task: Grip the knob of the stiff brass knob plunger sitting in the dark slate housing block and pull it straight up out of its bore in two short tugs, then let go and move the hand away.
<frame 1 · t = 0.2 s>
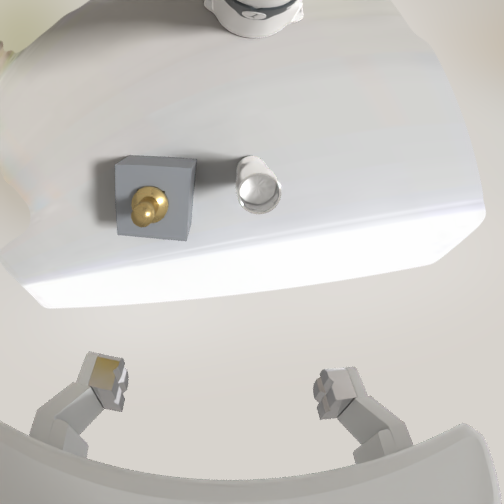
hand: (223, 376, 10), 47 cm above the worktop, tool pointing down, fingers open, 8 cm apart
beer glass: (251, 169, 53), on the worktop
slate housing: (160, 189, 53), on the worktop
brass knob plunger: (151, 202, 47), point 7 cm above the worktop, slide at 0.0 cm
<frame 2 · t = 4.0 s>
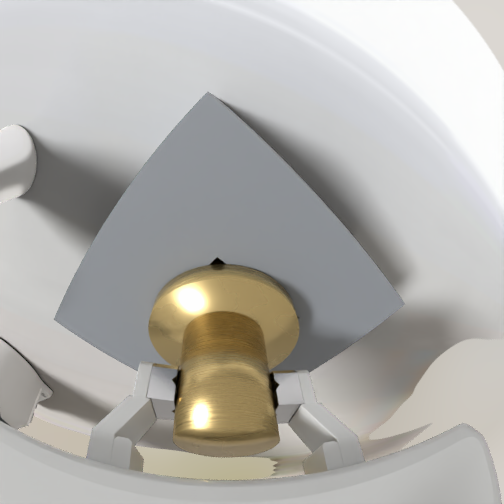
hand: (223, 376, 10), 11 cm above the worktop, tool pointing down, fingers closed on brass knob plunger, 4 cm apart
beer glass: (14, 160, 14), on the worktop
slate housing: (224, 241, 20), on the worktop
brass knob plunger: (223, 312, 13), point 7 cm above the worktop, slide at 0.0 cm, touching gripper
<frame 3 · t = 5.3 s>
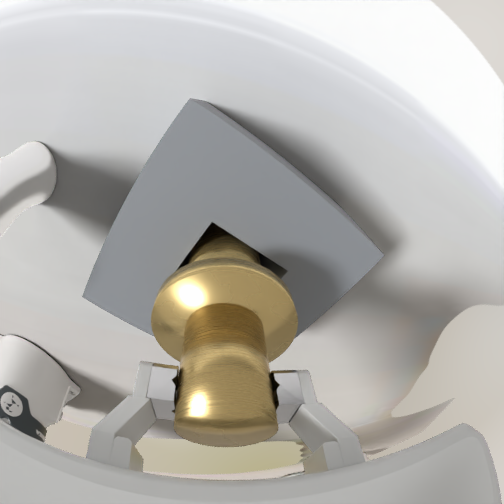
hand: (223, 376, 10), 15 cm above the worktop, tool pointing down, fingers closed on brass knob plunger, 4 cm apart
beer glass: (35, 171, 18), on the worktop
salad plate: (296, 474, 78), on the worktop
slate housing: (225, 221, 22), on the worktop
lightbulb: (361, 452, 69), on the worktop
brass knob plunger: (224, 306, 14), point 10 cm above the worktop, slide at 2.9 cm, touching gripper
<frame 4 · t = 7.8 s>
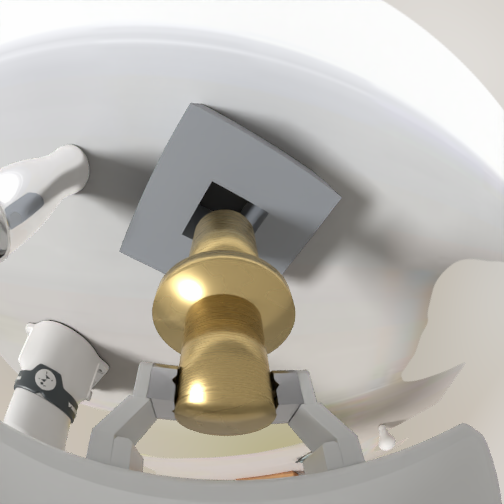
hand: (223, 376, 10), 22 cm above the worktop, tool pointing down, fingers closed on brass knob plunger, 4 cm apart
wooden box: (267, 477, 102), on the worktop
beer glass: (69, 168, 25), on the worktop
salad plate: (319, 452, 84), on the worktop
slate housing: (225, 192, 29), on the worktop
lightbulb: (380, 424, 74), on the worktop
brass knob plunger: (223, 298, 14), point 17 cm above the worktop, slide at 9.9 cm, touching gripper
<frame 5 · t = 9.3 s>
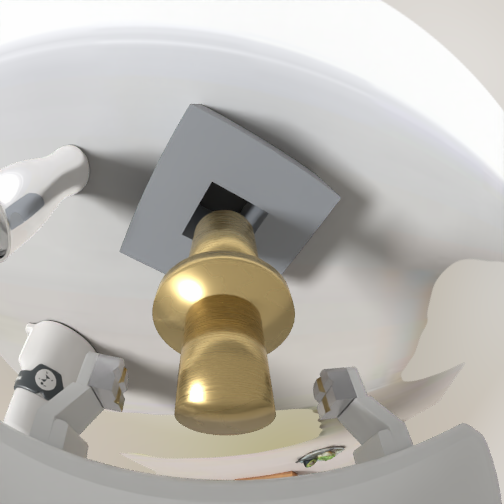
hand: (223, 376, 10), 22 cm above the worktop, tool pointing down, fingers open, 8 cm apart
wooden box: (266, 477, 103), on the worktop
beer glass: (70, 169, 25), on the worktop
salad plate: (319, 452, 84), on the worktop
slate housing: (225, 192, 29), on the worktop
brass knob plunger: (223, 298, 14), point 17 cm above the worktop, slide at 9.9 cm
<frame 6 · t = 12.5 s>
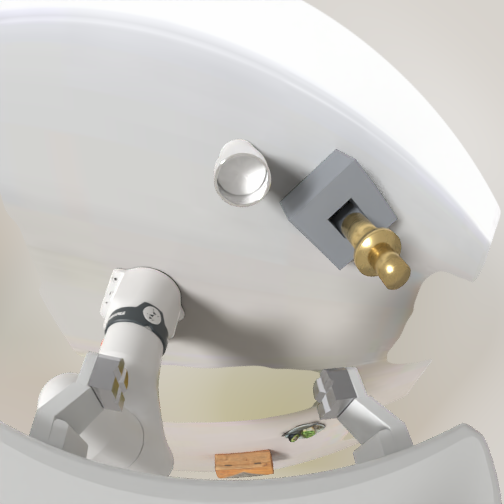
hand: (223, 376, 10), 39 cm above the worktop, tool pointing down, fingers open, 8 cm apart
wooden box: (244, 455, 120), on the worktop
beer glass: (238, 156, 43), on the worktop
salad plate: (303, 429, 104), on the worktop
slate housing: (331, 201, 49), on the worktop
brass knob plunger: (373, 247, 34), point 17 cm above the worktop, slide at 9.9 cm
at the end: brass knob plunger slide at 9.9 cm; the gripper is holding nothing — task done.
